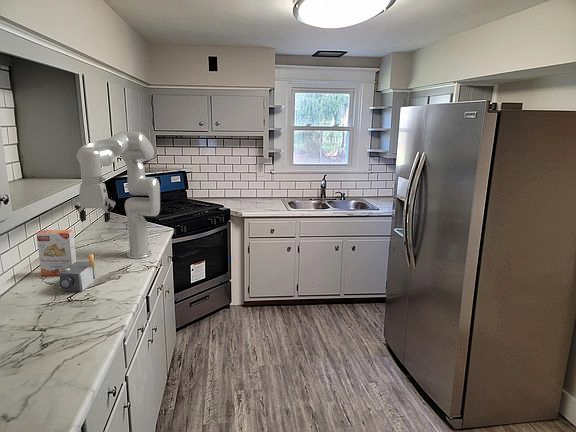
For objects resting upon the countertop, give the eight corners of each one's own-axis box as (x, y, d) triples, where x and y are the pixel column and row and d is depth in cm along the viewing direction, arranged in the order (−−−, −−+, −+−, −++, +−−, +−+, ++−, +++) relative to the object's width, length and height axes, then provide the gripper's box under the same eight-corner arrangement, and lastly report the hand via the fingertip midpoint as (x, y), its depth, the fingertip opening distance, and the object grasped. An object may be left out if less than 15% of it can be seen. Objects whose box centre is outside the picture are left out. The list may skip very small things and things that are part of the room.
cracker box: (40, 276, 186) (35, 233, 181) (46, 271, 192) (41, 229, 187) (73, 275, 188) (68, 232, 183) (77, 271, 194) (73, 229, 189)
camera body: (77, 278, 186) (75, 260, 184) (94, 278, 186) (93, 260, 184) (57, 293, 170) (55, 273, 168) (76, 293, 170) (74, 274, 168)
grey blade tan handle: (91, 281, 182) (88, 253, 179) (96, 281, 182) (94, 253, 179) (79, 291, 172) (76, 262, 168) (85, 291, 172) (82, 262, 168)
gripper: (117, 179, 167) (119, 219, 171) (74, 178, 167) (78, 218, 171) (109, 182, 160) (112, 224, 164) (65, 181, 160) (69, 223, 164)
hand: (95, 221), depth 168 cm, fingers open, 9 cm apart
